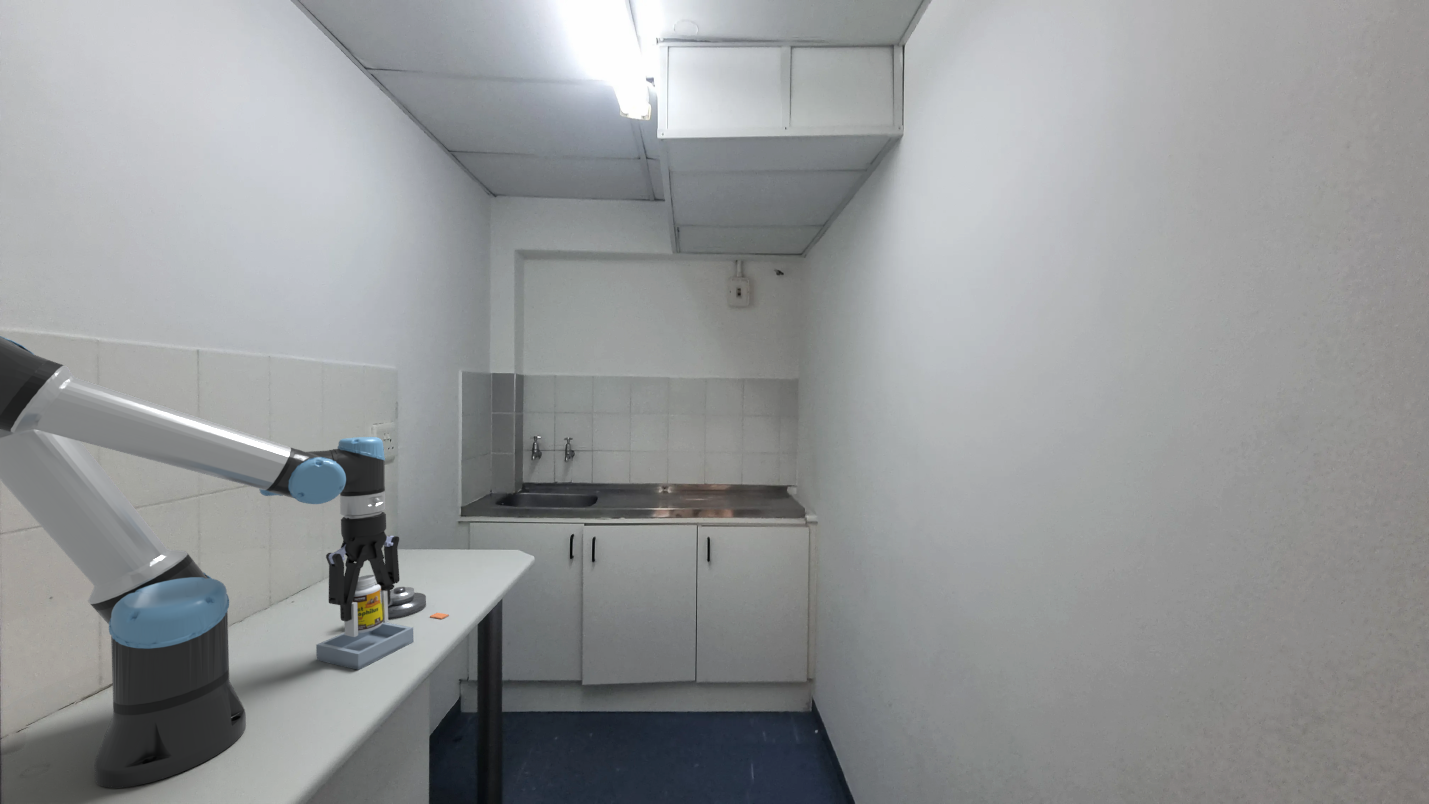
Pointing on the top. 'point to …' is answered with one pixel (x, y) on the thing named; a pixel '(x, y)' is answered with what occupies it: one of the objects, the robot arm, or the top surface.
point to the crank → (401, 595)
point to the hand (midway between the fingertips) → (367, 628)
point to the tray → (364, 646)
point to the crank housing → (407, 607)
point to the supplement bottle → (368, 604)
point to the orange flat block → (439, 615)
